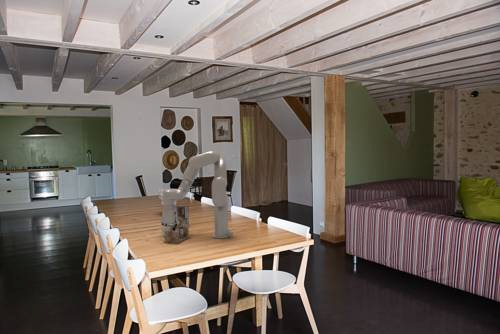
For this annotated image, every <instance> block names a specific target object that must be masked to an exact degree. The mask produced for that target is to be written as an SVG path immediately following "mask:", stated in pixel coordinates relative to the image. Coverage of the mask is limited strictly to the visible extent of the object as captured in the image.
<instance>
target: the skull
mask: <svg viewBox="0 0 500 334" xmlns="http://www.w3.org/2000/svg"><path fill="white" fill-rule="evenodd" d="M168 189H169V188H162V189H161V188H160V189H158V191H157V192H158V198H159V200H160V202H161V205H162V206H163V191H164V190H168ZM170 189H171V190H177V189H178V188H170ZM177 201H178V200H174V205H175V206H177ZM161 216H162V214H161Z"/></svg>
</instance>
